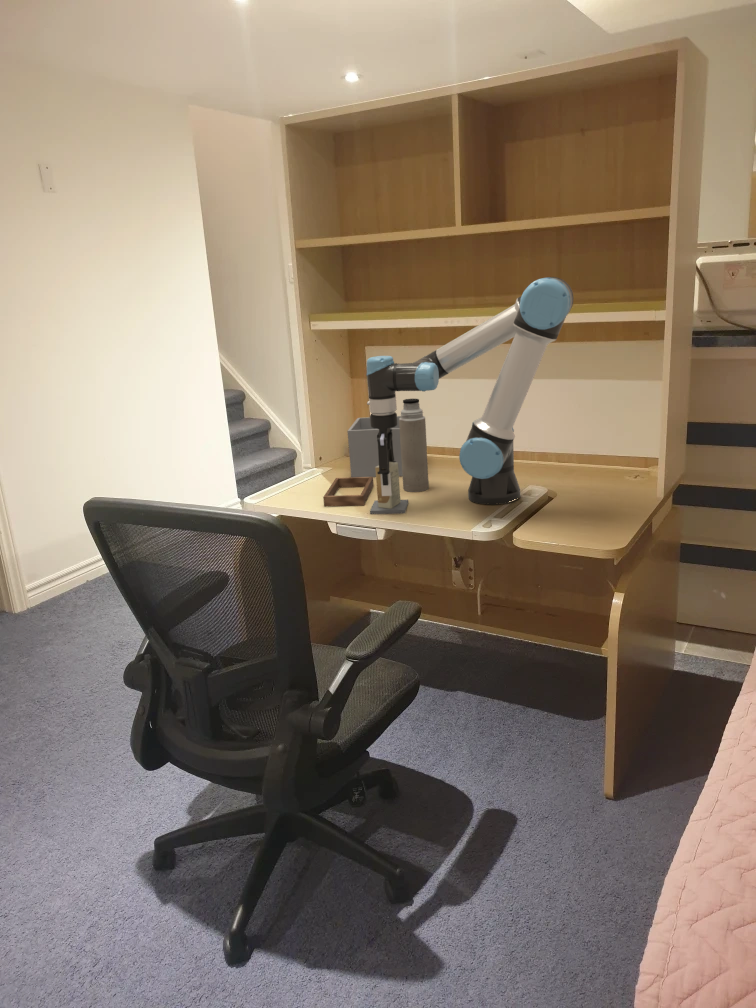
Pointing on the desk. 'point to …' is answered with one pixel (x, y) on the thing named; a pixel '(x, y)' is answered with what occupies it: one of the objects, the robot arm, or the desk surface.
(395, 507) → the mat
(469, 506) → the desk surface
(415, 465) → the thermos bottle
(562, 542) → the desk surface
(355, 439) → the box
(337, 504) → the frame
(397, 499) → the skincare box
